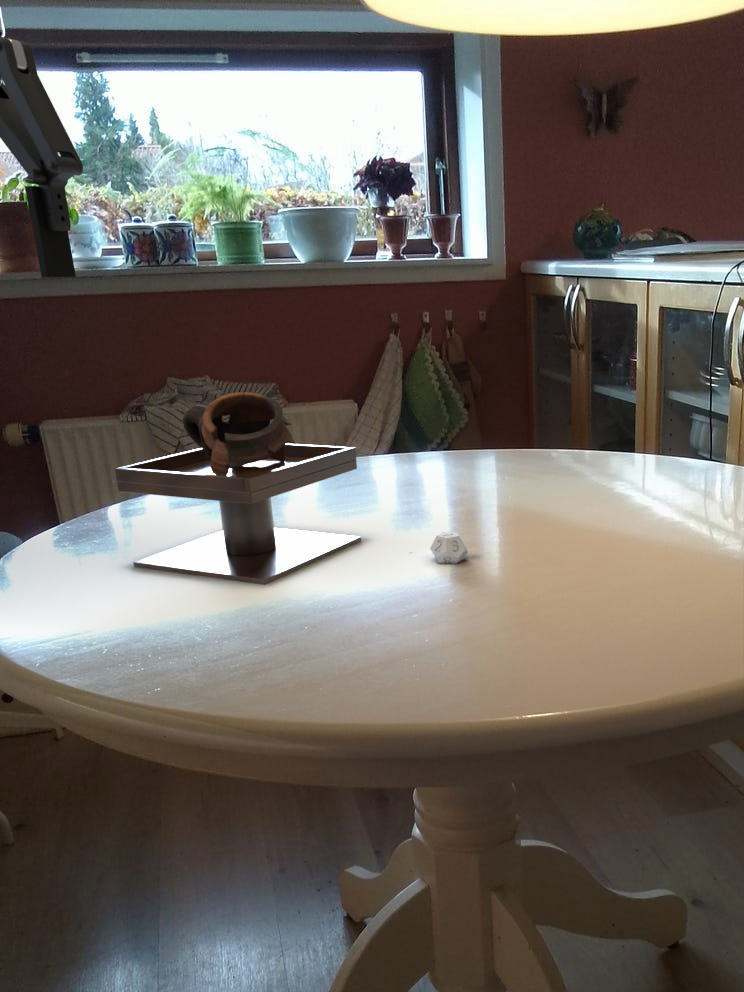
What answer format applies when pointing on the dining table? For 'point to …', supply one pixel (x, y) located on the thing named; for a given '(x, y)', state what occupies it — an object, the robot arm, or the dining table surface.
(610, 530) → the dining table surface
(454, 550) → the game die
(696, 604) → the dining table surface
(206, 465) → the cup holder
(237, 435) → the pottery mug
